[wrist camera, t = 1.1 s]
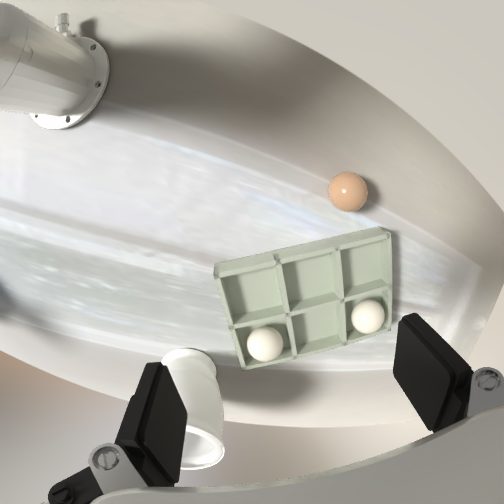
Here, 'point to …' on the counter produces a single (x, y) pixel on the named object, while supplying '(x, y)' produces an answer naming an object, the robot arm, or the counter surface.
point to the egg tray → (307, 293)
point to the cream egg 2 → (367, 316)
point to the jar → (198, 406)
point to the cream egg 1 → (265, 343)
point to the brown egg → (348, 191)
